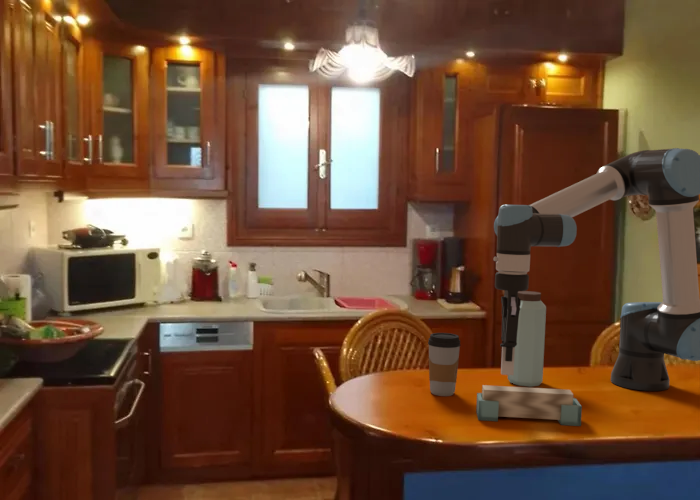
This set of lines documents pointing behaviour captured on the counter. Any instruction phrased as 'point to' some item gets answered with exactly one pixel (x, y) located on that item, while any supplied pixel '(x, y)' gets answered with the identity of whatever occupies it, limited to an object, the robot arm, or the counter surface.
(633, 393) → the counter surface
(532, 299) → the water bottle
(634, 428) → the counter surface
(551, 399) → the slat
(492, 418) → the end caps
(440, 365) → the coffee cup
